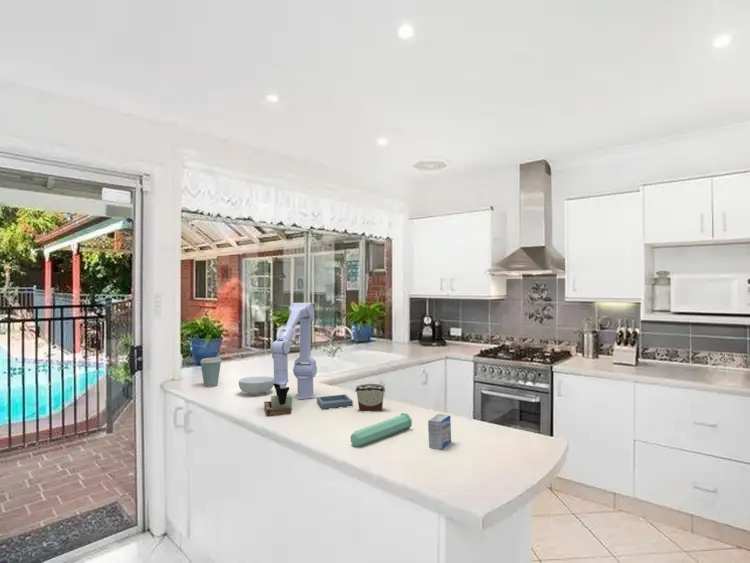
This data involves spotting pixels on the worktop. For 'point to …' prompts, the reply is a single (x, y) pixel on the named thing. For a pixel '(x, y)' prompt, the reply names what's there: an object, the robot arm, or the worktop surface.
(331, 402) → the tray
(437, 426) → the medicine box
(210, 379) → the disposable coffee cup
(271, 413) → the holder
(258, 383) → the cereal bowl
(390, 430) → the container
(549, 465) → the worktop surface
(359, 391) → the food container
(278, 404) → the tall sage green block
